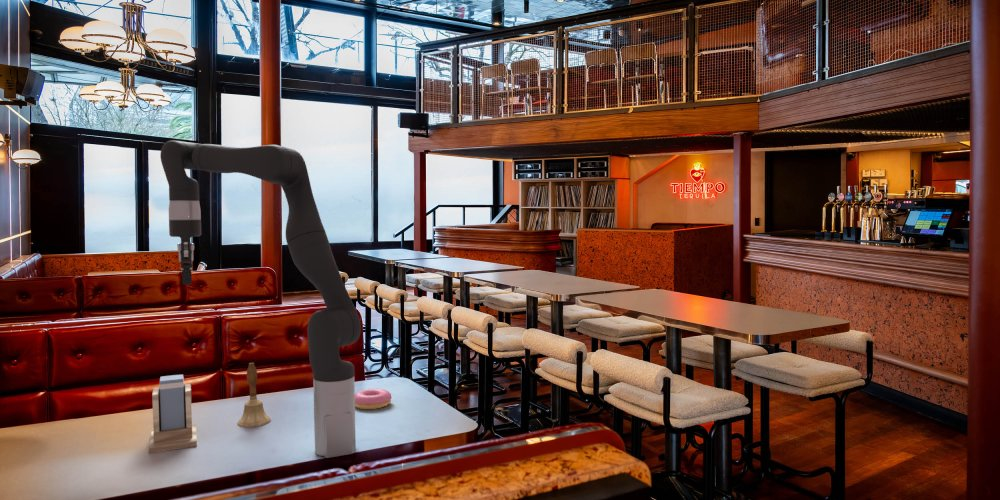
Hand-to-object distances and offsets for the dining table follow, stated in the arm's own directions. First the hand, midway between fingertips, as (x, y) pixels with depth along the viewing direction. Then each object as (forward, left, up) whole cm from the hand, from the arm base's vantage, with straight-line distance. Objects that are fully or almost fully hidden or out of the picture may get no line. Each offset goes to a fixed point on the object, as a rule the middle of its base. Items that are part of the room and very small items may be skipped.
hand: (187, 284), depth 168 cm
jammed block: (-13, +4, -36) cm, 38 cm away
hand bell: (-7, -15, -37) cm, 41 cm away
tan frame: (-13, +4, -37) cm, 39 cm away
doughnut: (-6, -47, -37) cm, 61 cm away
